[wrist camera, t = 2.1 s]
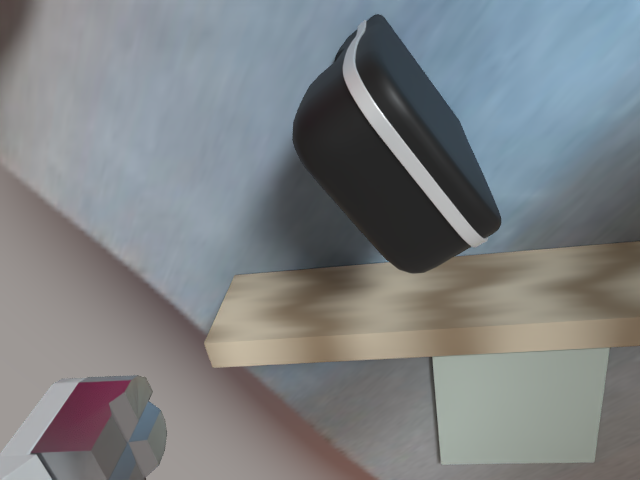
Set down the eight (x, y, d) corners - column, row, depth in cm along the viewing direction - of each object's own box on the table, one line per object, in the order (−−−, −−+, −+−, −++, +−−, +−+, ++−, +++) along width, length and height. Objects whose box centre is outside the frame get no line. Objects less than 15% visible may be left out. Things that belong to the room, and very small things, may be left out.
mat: (606, 343, 30) (609, 348, 30) (592, 457, 35) (594, 462, 34) (431, 352, 32) (432, 357, 31) (440, 459, 36) (441, 464, 36)
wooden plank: (684, 237, 26) (758, 309, 21) (678, 263, 27) (749, 340, 22) (234, 275, 30) (203, 343, 25) (241, 297, 31) (212, 367, 26)
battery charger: (310, 62, 24) (258, 146, 14) (376, 4, 22) (370, 52, 12) (399, 173, 26) (409, 312, 16) (465, 127, 25) (519, 250, 15)
